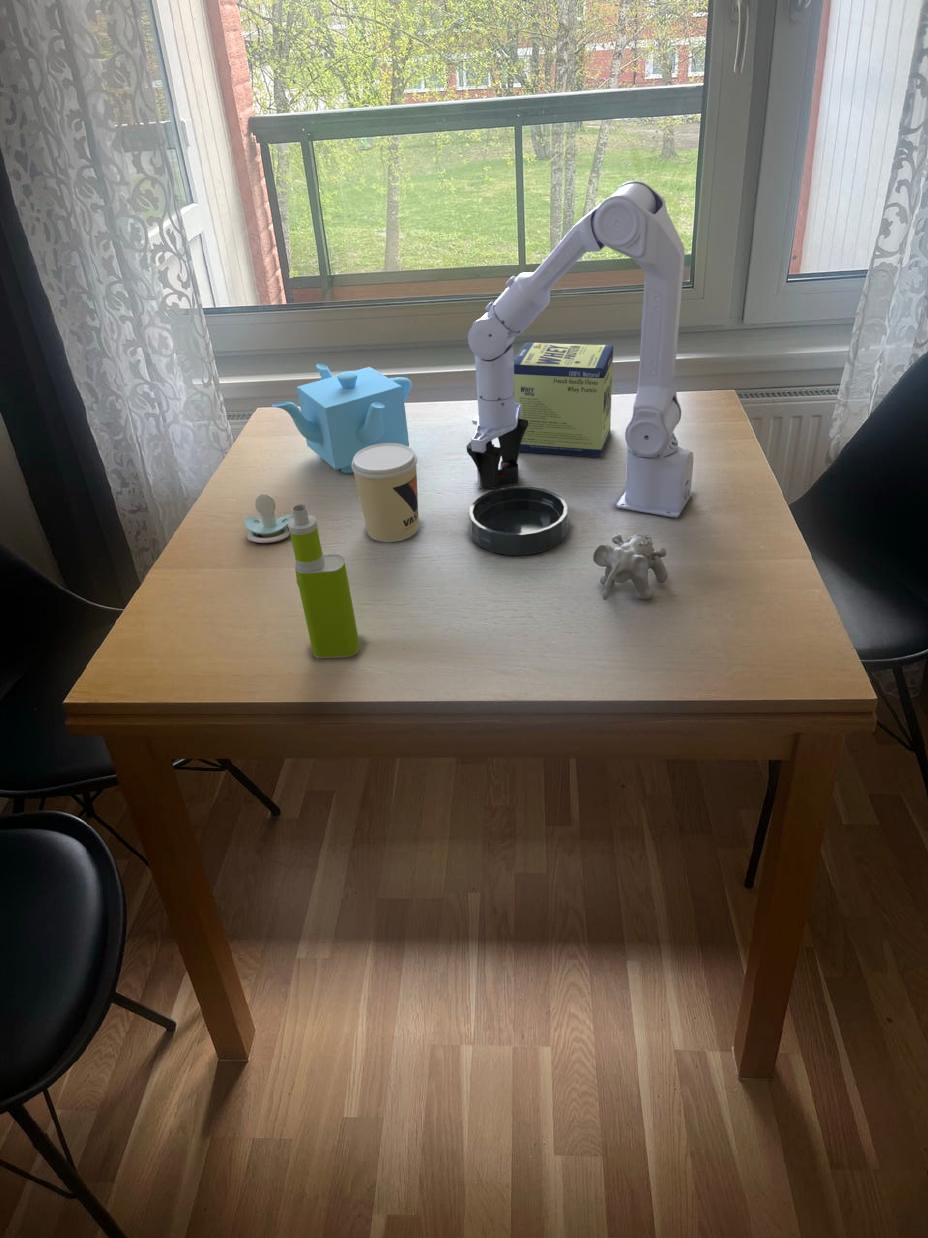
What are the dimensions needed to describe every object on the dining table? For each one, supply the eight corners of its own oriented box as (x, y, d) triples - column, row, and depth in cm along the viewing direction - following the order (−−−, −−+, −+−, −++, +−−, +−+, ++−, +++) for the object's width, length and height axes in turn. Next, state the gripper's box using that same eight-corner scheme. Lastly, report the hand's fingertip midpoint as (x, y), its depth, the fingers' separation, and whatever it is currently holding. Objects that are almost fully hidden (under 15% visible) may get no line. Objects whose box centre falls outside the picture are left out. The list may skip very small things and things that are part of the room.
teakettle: (423, 435, 161) (415, 354, 152) (393, 484, 146) (382, 398, 138) (324, 431, 165) (311, 353, 156) (285, 478, 151) (268, 395, 142)
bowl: (581, 516, 134) (581, 494, 132) (545, 564, 124) (545, 542, 122) (495, 500, 139) (494, 480, 137) (454, 546, 129) (452, 524, 127)
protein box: (602, 458, 149) (605, 367, 140) (511, 452, 153) (508, 363, 144) (612, 431, 157) (615, 344, 148) (525, 426, 161) (522, 341, 152)
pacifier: (290, 544, 133) (297, 523, 138) (282, 508, 129) (289, 487, 134) (242, 547, 134) (250, 525, 138) (232, 510, 130) (241, 490, 134)
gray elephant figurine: (668, 572, 120) (672, 523, 116) (661, 625, 111) (665, 574, 106) (599, 567, 122) (600, 518, 118) (586, 618, 113) (587, 567, 109)
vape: (313, 640, 113) (284, 500, 101) (360, 638, 113) (336, 497, 101) (309, 659, 110) (278, 517, 98) (358, 656, 110) (332, 514, 98)
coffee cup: (415, 546, 130) (407, 472, 123) (354, 543, 132) (342, 470, 125) (430, 514, 137) (422, 442, 130) (371, 512, 139) (361, 441, 132)
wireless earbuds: (524, 483, 143) (524, 465, 141) (481, 491, 142) (480, 472, 140) (516, 471, 147) (516, 453, 145) (474, 478, 146) (473, 460, 144)
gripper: (492, 373, 142) (496, 451, 150) (450, 408, 132) (457, 490, 140) (533, 378, 139) (535, 457, 147) (494, 414, 129) (498, 498, 137)
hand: (500, 474), depth 144 cm, fingers open, 7 cm apart
